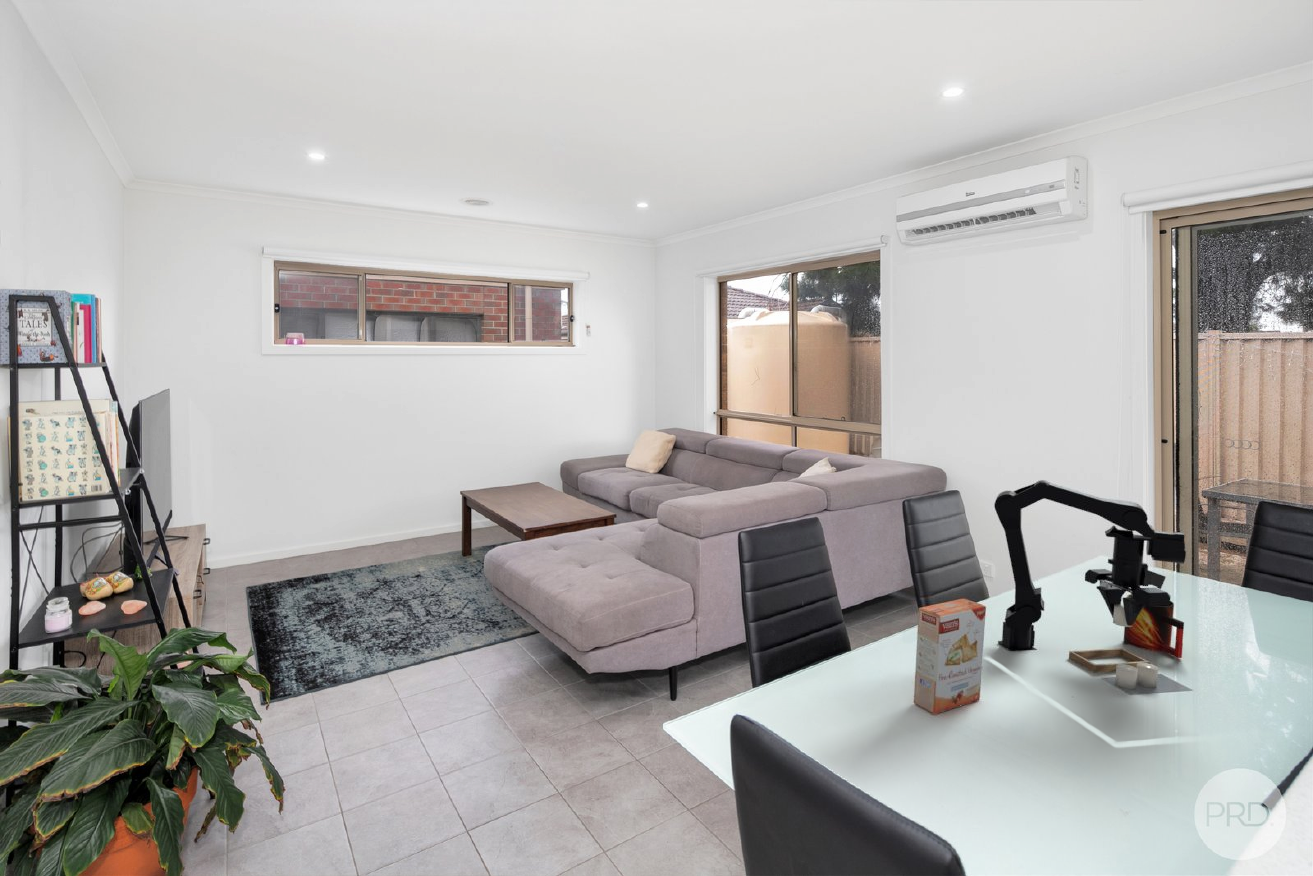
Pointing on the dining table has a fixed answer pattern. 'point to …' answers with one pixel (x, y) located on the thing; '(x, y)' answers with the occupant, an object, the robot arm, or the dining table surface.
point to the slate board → (1162, 686)
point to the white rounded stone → (1126, 676)
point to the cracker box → (949, 654)
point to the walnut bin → (1110, 667)
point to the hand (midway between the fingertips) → (1122, 622)
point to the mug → (1156, 630)
